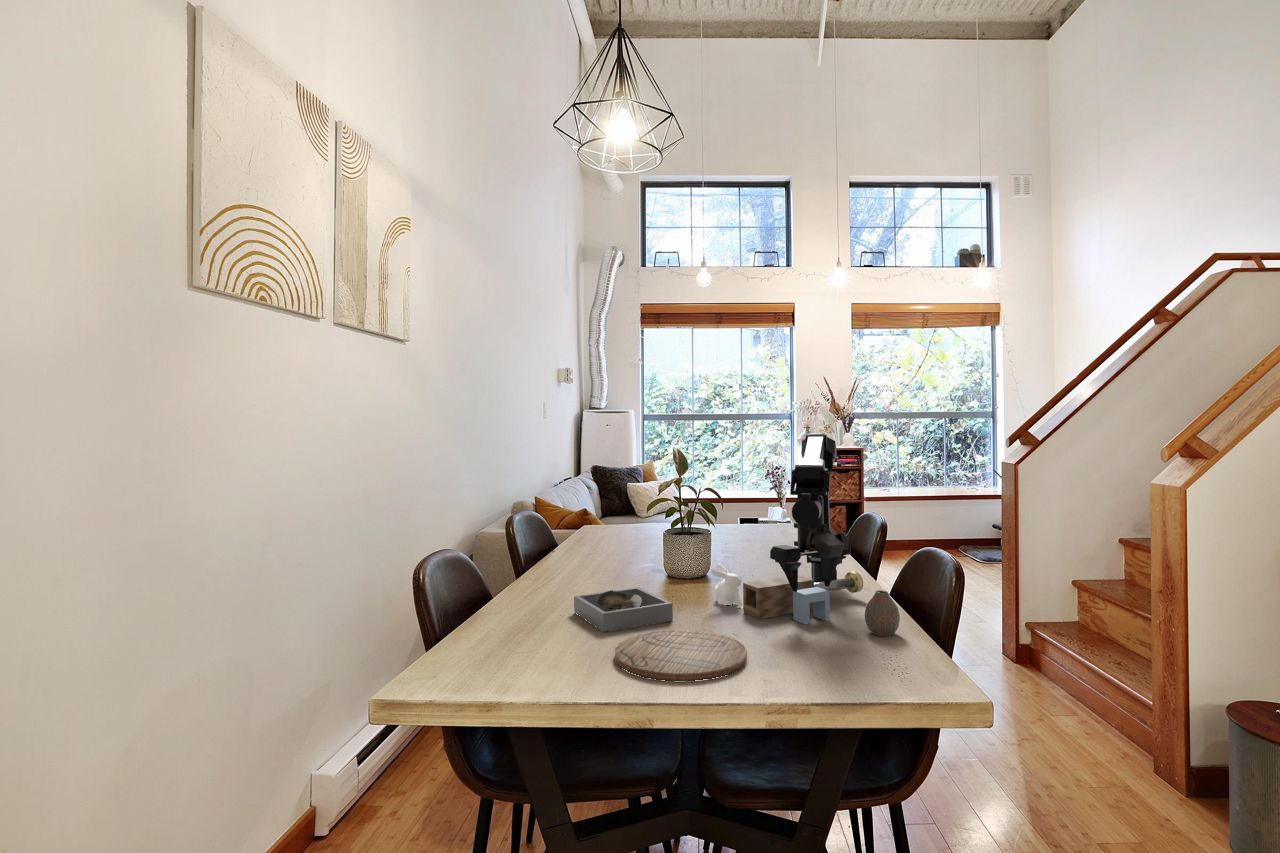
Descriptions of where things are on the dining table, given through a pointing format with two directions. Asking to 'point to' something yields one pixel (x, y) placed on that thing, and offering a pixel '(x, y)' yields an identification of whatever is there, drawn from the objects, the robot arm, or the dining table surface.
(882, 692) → the dining table surface
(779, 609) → the block
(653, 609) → the tray rim
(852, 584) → the shaft
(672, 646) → the trivet
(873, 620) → the vase
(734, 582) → the rabbit figurine
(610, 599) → the eagle figurine
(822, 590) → the spacer
